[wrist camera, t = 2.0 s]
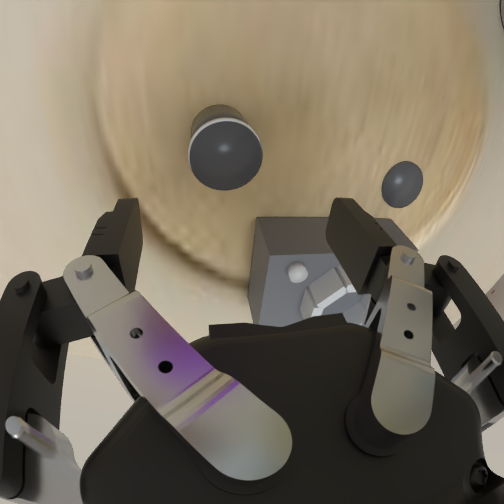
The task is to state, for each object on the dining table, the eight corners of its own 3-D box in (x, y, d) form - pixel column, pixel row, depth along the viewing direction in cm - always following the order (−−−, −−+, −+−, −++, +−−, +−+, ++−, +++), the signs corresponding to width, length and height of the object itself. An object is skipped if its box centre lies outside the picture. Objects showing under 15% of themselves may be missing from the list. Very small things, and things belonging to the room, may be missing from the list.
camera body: (390, 218, 32) (431, 265, 25) (363, 287, 38) (390, 335, 32) (256, 217, 29) (276, 276, 22) (247, 296, 35) (260, 355, 29)
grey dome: (424, 163, 28) (428, 166, 27) (410, 205, 31) (414, 209, 31) (387, 156, 27) (391, 159, 26) (374, 203, 30) (377, 206, 30)
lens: (249, 104, 22) (267, 122, 16) (244, 156, 25) (259, 191, 19) (191, 103, 21) (188, 121, 16) (189, 156, 24) (187, 192, 18)
